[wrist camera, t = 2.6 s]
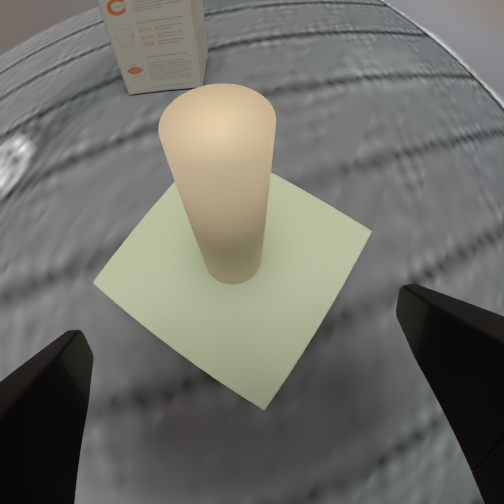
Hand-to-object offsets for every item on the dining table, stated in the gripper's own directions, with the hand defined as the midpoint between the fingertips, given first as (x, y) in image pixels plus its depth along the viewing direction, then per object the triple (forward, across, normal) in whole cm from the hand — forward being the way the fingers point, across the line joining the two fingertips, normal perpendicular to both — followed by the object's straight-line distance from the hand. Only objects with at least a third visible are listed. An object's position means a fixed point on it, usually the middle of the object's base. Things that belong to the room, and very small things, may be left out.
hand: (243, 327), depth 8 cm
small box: (+29, +4, -11) cm, 31 cm away
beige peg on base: (+9, 0, +3) cm, 10 cm away
